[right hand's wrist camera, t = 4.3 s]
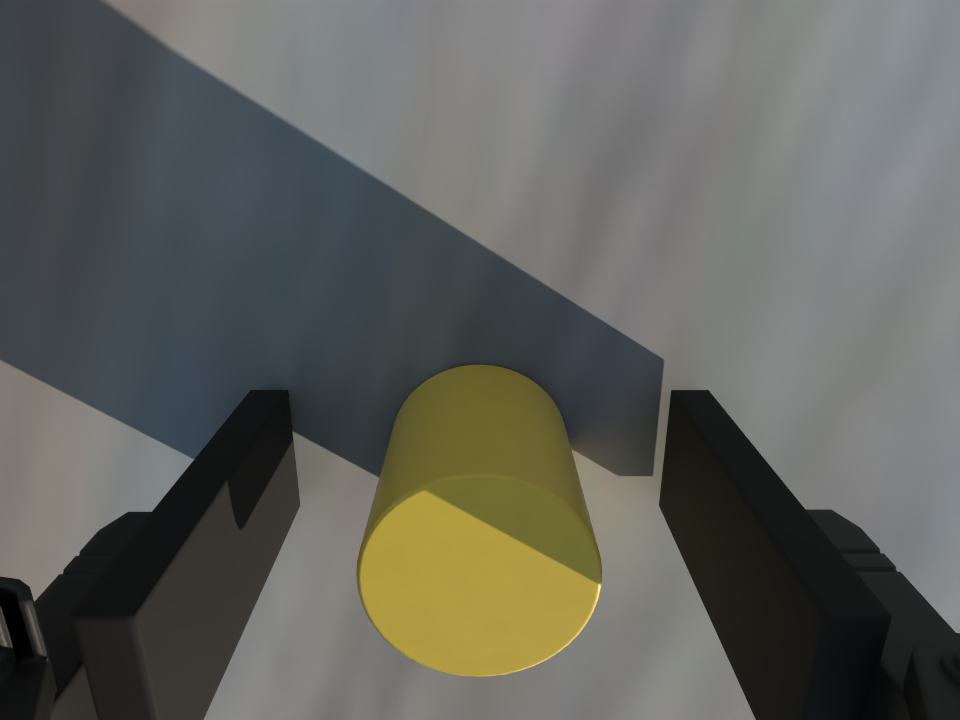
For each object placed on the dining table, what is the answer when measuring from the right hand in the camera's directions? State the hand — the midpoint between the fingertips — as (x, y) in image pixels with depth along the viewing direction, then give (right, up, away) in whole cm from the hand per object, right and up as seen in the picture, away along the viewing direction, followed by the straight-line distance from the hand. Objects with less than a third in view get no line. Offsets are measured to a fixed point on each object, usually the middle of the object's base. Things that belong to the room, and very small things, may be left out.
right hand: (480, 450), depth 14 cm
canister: (0, 0, 0) cm, 0 cm away
